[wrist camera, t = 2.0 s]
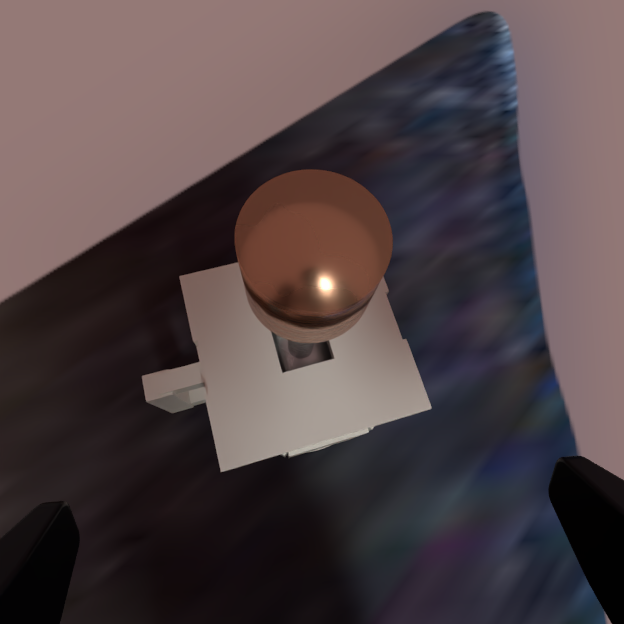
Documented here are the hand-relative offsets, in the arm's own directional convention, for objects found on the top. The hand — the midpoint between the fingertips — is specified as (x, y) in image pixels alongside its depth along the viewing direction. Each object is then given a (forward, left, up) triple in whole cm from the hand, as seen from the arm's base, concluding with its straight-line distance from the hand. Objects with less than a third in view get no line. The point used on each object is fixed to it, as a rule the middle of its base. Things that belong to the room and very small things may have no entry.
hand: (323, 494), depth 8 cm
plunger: (+5, -1, -8) cm, 10 cm away
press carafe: (+5, 0, -13) cm, 14 cm away
